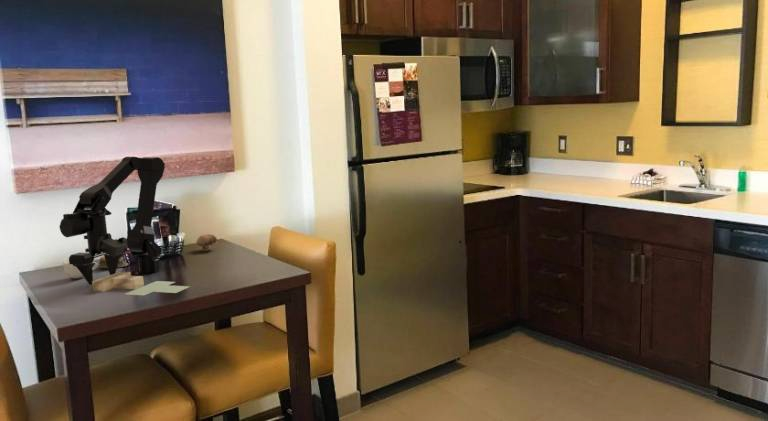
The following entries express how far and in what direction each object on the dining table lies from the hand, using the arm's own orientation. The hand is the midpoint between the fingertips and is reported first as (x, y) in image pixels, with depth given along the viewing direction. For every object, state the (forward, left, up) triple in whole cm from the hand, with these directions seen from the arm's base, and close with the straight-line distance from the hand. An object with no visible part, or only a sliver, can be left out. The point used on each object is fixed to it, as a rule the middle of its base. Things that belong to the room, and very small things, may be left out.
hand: (102, 280), depth 192 cm
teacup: (-16, +9, -2) cm, 19 cm away
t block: (+8, 0, -2) cm, 8 cm away
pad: (+22, 0, -2) cm, 22 cm away
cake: (-16, +23, -2) cm, 28 cm away
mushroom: (+4, +52, -2) cm, 52 cm away
